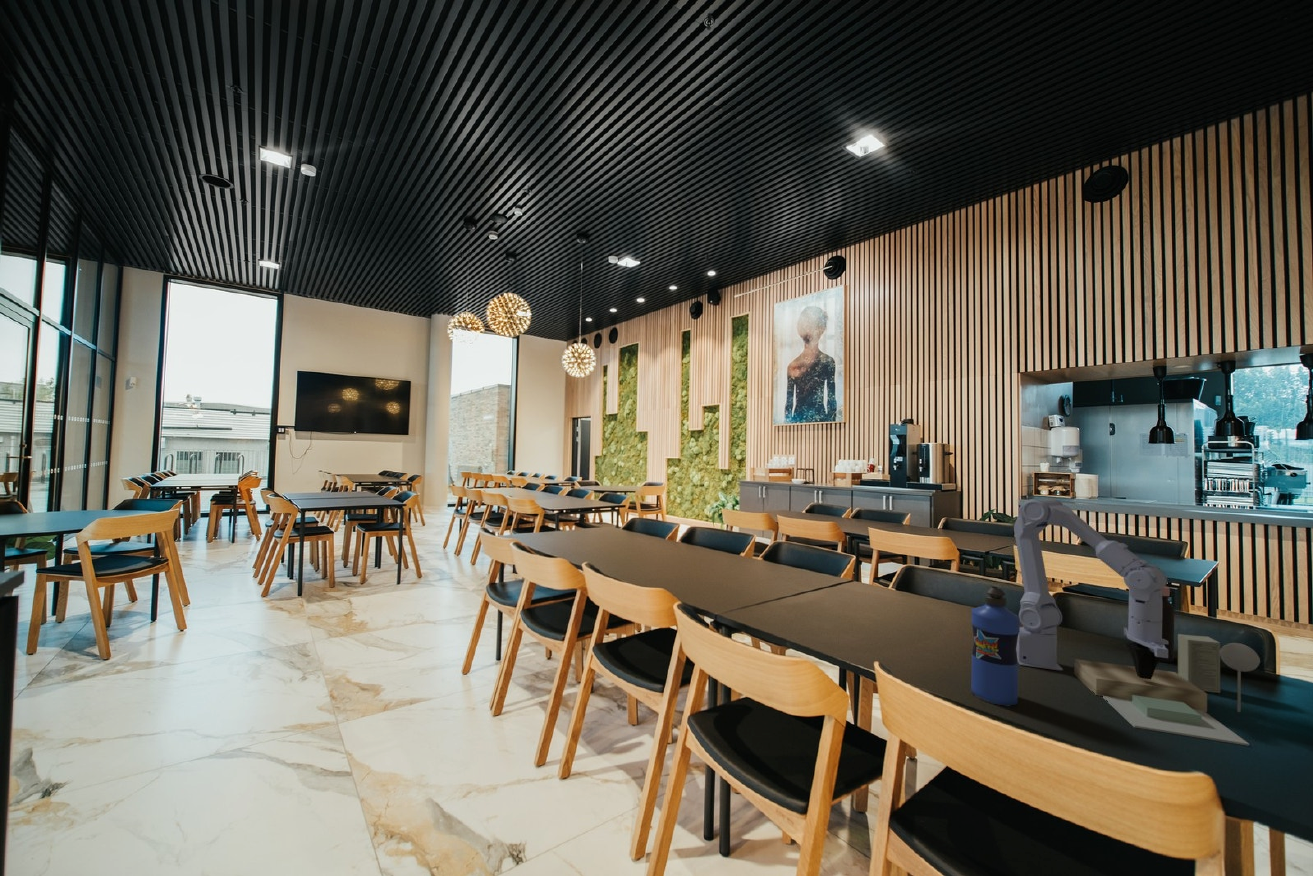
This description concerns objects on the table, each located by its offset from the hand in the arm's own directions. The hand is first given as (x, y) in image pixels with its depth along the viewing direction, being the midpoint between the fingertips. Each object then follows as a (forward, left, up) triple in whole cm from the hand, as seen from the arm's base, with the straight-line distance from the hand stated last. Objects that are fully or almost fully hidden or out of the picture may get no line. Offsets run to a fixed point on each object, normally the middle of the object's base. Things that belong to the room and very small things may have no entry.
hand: (1144, 677), depth 121 cm
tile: (0, -8, -3) cm, 9 cm away
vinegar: (+17, +33, -5) cm, 37 cm away
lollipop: (+17, +1, -5) cm, 18 cm away
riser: (0, +4, -5) cm, 6 cm away
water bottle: (-33, -12, -5) cm, 36 cm away
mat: (0, -10, -5) cm, 11 cm away
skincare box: (+16, +13, -5) cm, 21 cm away
